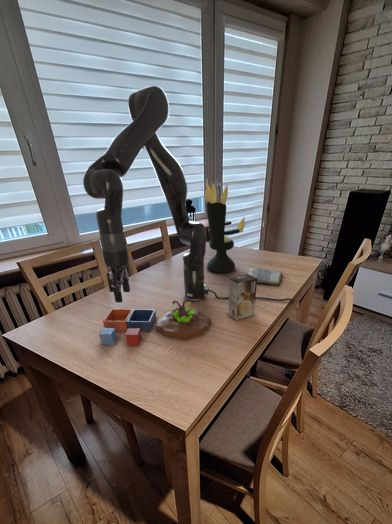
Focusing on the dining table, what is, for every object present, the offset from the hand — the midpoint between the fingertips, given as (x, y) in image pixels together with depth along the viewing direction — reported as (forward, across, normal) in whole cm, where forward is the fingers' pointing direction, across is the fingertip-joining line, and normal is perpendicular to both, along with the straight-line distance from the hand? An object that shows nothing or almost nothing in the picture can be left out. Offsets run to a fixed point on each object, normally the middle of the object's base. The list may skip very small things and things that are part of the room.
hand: (123, 296), depth 93 cm
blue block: (+17, -2, +7) cm, 18 cm away
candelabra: (+16, +77, -32) cm, 85 cm away
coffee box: (+16, +21, -42) cm, 49 cm away
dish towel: (+16, +64, -56) cm, 87 cm away
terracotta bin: (+17, +11, +7) cm, 21 cm away
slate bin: (+17, +11, -2) cm, 20 cm away
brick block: (+17, -2, -2) cm, 17 cm away
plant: (+17, +11, -19) cm, 27 cm away
